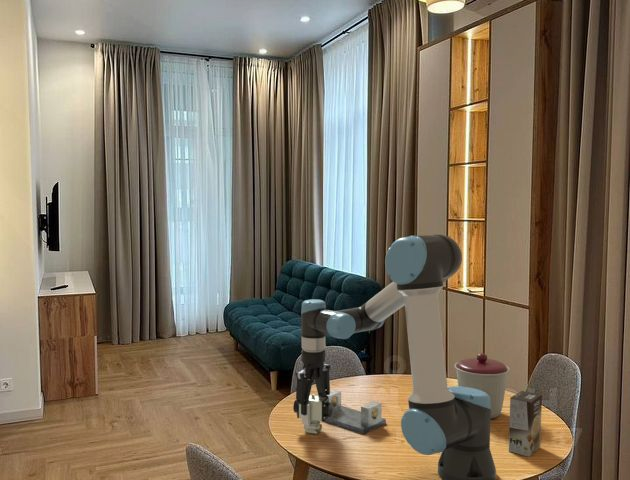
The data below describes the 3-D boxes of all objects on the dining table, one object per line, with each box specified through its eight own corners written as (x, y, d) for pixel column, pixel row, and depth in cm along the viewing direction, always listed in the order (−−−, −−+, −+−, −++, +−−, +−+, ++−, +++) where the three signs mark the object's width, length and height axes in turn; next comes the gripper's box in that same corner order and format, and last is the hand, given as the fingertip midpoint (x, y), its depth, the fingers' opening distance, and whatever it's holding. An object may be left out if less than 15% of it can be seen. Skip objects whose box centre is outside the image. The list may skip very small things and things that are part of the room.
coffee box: (529, 457, 171) (531, 402, 170) (508, 451, 175) (509, 397, 174) (540, 447, 178) (542, 394, 177) (519, 441, 182) (521, 389, 181)
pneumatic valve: (327, 437, 185) (327, 399, 184) (293, 432, 189) (293, 394, 189) (333, 431, 190) (334, 393, 189) (299, 426, 194) (299, 389, 194)
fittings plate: (386, 423, 196) (386, 401, 196) (363, 434, 188) (363, 410, 187) (338, 408, 210) (338, 388, 209) (315, 418, 201) (315, 396, 200)
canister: (490, 402, 216) (491, 345, 215) (519, 421, 199) (521, 358, 197) (444, 407, 212) (445, 348, 210) (470, 426, 194) (471, 362, 193)
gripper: (324, 341, 197) (324, 410, 199) (283, 353, 183) (283, 426, 185) (342, 345, 192) (341, 416, 194) (301, 357, 178) (301, 433, 180)
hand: (313, 421), depth 189 cm, fingers closed on pneumatic valve, 6 cm apart
